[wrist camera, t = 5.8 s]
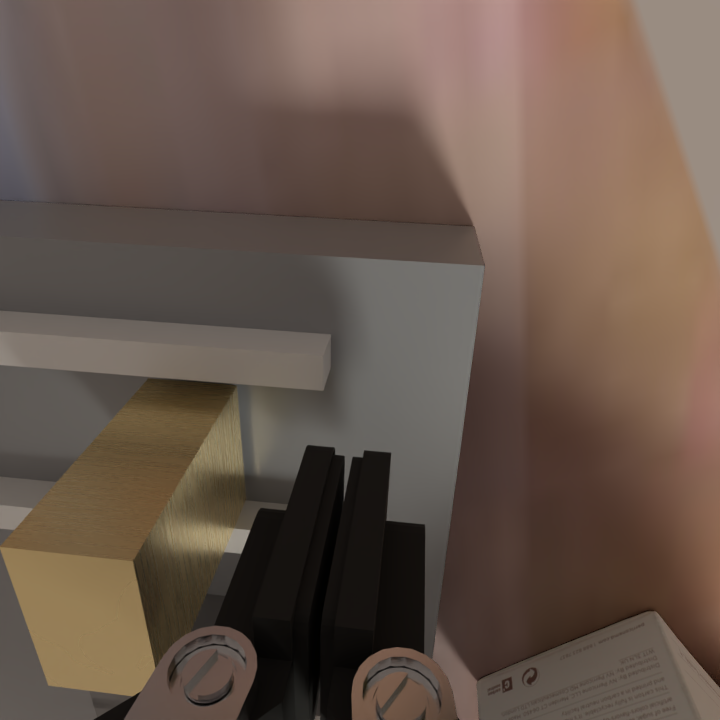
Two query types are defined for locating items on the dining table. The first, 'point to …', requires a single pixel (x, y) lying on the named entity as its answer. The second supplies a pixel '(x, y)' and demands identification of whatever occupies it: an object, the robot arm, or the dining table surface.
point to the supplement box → (605, 679)
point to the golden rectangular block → (131, 537)
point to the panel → (230, 366)
